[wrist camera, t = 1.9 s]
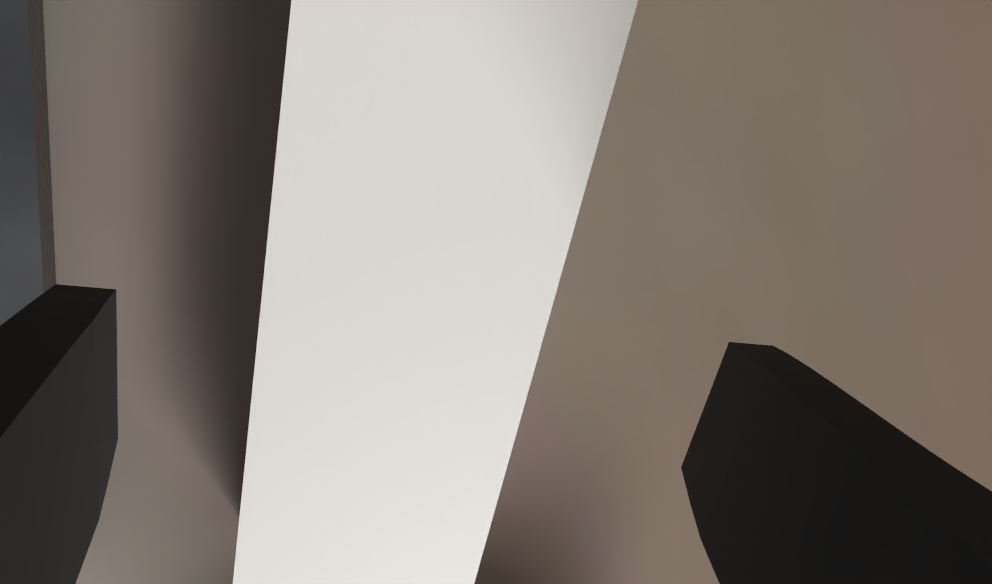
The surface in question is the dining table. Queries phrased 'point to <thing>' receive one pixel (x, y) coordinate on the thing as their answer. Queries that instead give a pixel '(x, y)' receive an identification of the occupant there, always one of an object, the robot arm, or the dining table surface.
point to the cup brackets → (24, 159)
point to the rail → (412, 274)
